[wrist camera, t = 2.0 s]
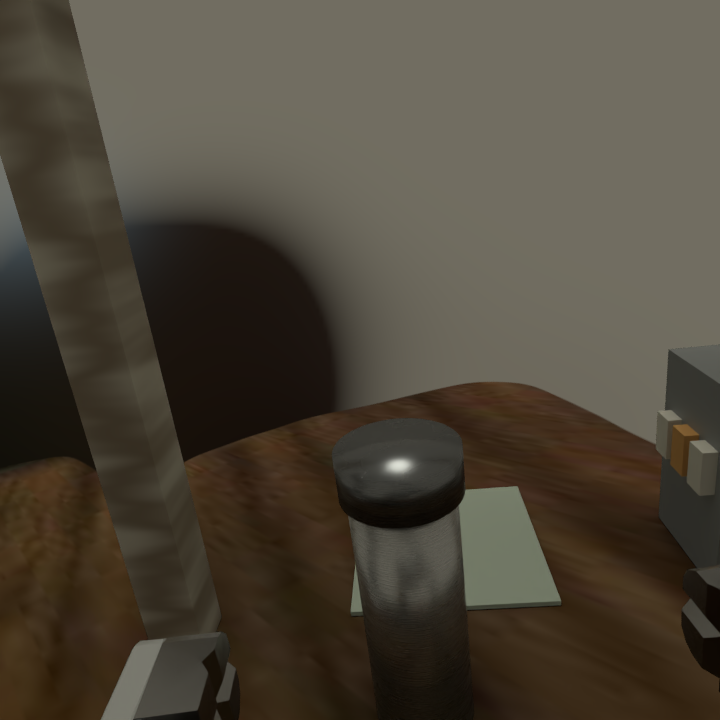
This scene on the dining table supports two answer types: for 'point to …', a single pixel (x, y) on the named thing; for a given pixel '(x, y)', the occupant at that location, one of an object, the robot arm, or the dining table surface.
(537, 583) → the sage mat
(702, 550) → the breaker box
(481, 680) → the dining table surface
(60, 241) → the arch
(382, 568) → the frosted spice bottle
